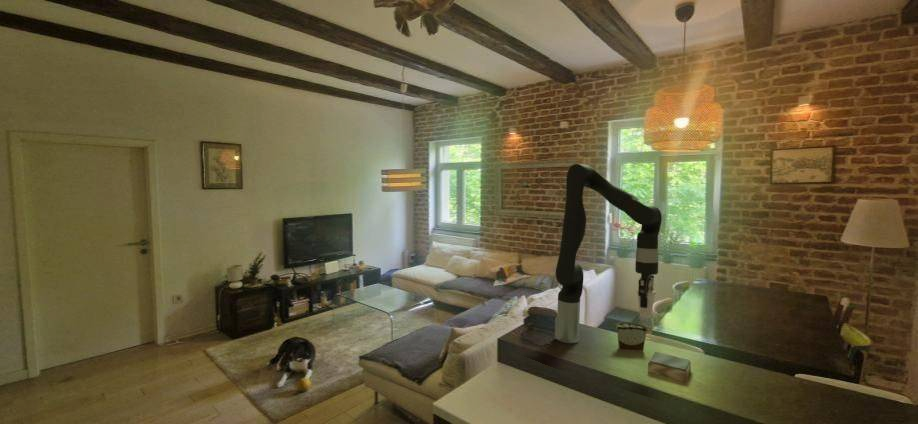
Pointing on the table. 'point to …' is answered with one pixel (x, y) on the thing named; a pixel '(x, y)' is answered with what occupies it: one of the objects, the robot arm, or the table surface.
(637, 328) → the food container
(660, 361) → the oak plinth
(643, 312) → the smoothie
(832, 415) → the table surface
